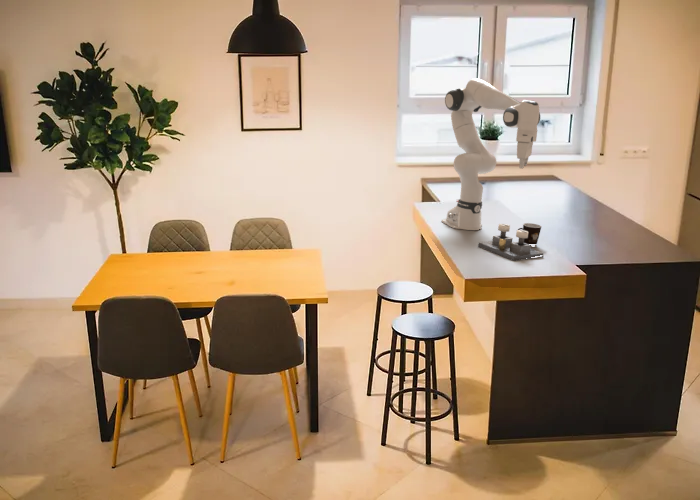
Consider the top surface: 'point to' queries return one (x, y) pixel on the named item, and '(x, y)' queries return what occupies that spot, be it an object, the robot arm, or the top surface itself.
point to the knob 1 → (503, 229)
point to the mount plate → (510, 249)
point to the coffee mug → (531, 232)
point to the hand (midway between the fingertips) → (523, 167)
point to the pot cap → (502, 243)
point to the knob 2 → (521, 236)
